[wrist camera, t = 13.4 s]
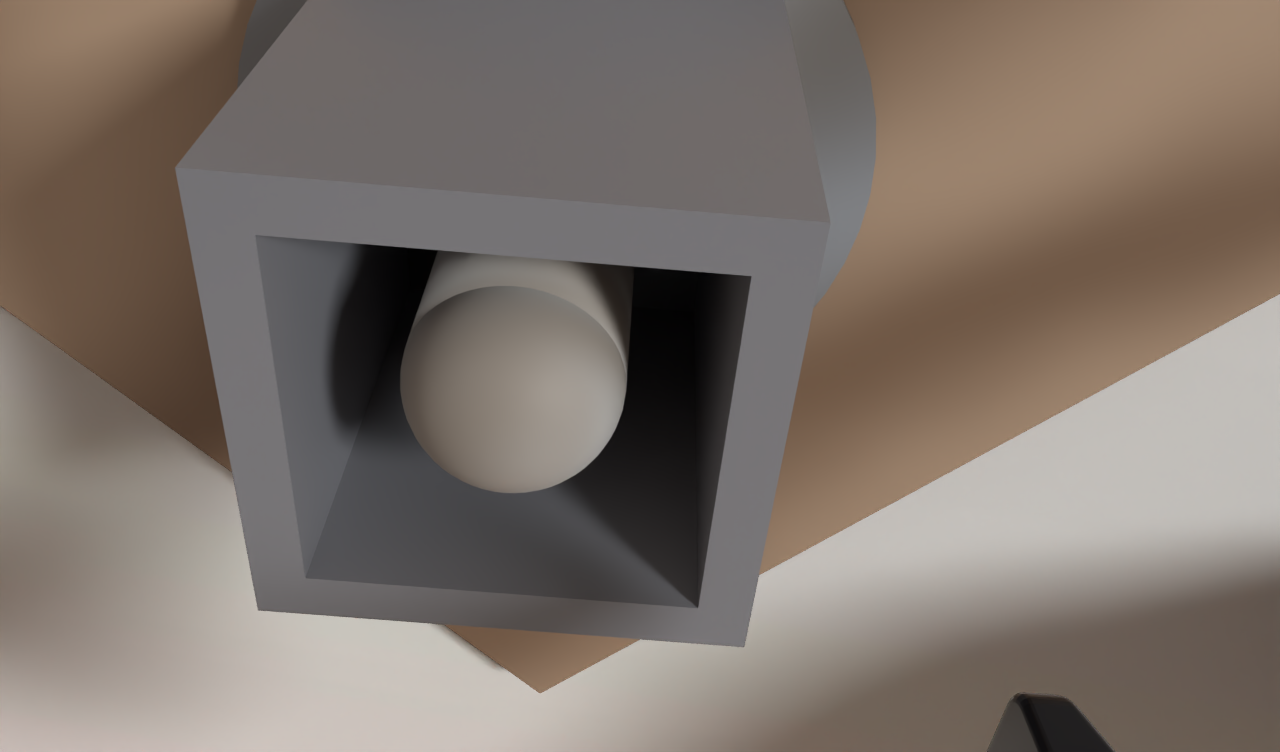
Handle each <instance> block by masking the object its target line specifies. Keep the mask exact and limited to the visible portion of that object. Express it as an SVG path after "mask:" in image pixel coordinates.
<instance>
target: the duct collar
mask: <svg viewBox="0 0 1280 752" xmlns="http://www.w3.org/2000/svg"><path fill="white" fill-rule="evenodd" d="M175 170H176V176H177V181H178V186H179V191H180V197H181V202H182V207H183V213H184V218H185V223H186V229H187V234H188V239H189V245H190V250H191V255H192V261H193V266H194V271H195V277H196V282H197V287H198V293H199V298H200V303H201V309H202V314H203V319H204V325H205V330H206V335H207V341H208V346H209V351H210V357H211V362H212V367H213V373H214V378H215V383H216V389H217V394H218V399H219V405H220V410H221V415H222V421H223V426H224V431H225V437H226V442H227V447H228V453H229V458H230V463H231V468H232V474H233V479H234V484H235V490H236V495H237V500H238V506H239V511H240V516H241V522H242V527H243V532H244V538H245V543H246V548H247V554H248V559H249V564H250V570H251V575H252V580H253V586H254V591H255V596H256V602H257V607H258V610H261V611H274V612H287V613H300V614H313V615H327V616H340V617H353V618H366V619H379V620H393V621H406V622H419V623H432V624H445V625H459V626H472V627H485V628H498V629H511V630H524V631H538V632H551V633H564V634H577V635H590V636H604V637H617V638H630V639H643V640H656V641H670V642H683V643H696V644H709V645H722V646H735V647H744V646H745V641H746V636H747V631H748V626H749V621H750V616H751V611H752V606H753V601H754V597H755V592H756V587H757V582H758V577H759V572H760V567H761V562H762V557H763V552H764V547H765V543H766V538H767V533H768V528H769V523H770V518H771V513H772V508H773V503H774V498H775V494H776V489H777V484H778V479H779V474H780V469H781V464H782V459H783V454H784V449H785V444H786V440H787V435H788V430H789V425H790V420H791V415H792V410H793V405H794V400H795V395H796V391H797V386H798V381H799V376H800V371H801V366H802V361H803V356H804V351H805V346H806V341H807V337H808V332H809V327H810V322H811V317H812V312H813V307H814V302H815V297H816V292H817V288H818V283H819V278H820V273H821V268H822V263H823V258H824V253H825V248H826V243H827V238H828V234H829V229H830V224H831V222H830V217H829V212H828V207H827V203H826V198H825V193H824V188H823V183H822V179H821V174H820V169H819V164H818V160H817V155H816V150H815V145H814V141H813V136H812V131H811V126H810V121H809V117H808V112H807V107H806V102H805V98H804V93H803V88H802V83H801V79H800V74H799V69H798V64H797V59H796V55H795V50H794V45H793V40H792V36H791V31H790V26H789V21H788V16H787V12H786V7H785V2H784V0H307V2H306V3H305V4H304V5H303V7H302V8H301V9H300V10H299V12H298V13H297V14H296V15H295V17H294V18H293V19H292V21H291V22H290V23H289V24H288V26H287V27H286V28H285V29H284V31H283V32H282V33H281V34H280V36H279V37H278V38H277V39H276V41H275V42H274V43H273V44H272V46H271V47H270V48H269V50H268V51H267V52H266V53H265V55H264V56H263V57H262V58H261V60H260V61H259V62H258V63H257V65H256V66H255V67H254V68H253V70H252V71H251V72H250V74H249V75H248V76H247V77H246V79H245V80H244V81H243V82H242V84H241V85H240V86H239V87H238V89H237V90H236V91H235V92H234V94H233V95H232V96H231V98H230V99H229V100H228V101H227V103H226V104H225V105H224V106H223V108H222V109H221V110H220V111H219V113H218V114H217V115H216V116H215V118H214V119H213V120H212V121H211V123H210V124H209V125H208V127H207V128H206V129H205V130H204V132H203V133H202V134H201V135H200V137H199V138H198V139H197V140H196V142H195V143H194V144H193V145H192V147H191V148H190V149H189V151H188V152H187V153H186V154H185V156H184V157H183V158H182V159H181V161H180V162H179V163H178V164H177V166H176V167H175ZM408 248H418V249H430V250H442V251H454V252H466V253H478V254H490V255H502V256H514V257H526V258H538V259H550V260H562V261H574V262H587V263H599V264H611V265H623V266H635V267H647V268H659V269H671V270H683V271H695V272H699V279H698V287H697V295H696V303H695V311H694V312H693V311H681V310H669V309H657V308H644V307H632V311H631V326H630V341H629V356H628V371H627V386H626V394H625V400H624V405H623V411H622V413H621V416H620V419H619V422H618V424H617V427H616V429H615V431H614V433H613V435H612V437H611V438H610V440H609V441H608V443H607V444H606V446H605V447H604V448H603V450H602V451H601V452H600V454H599V455H598V456H597V457H596V458H595V459H594V460H593V461H592V462H591V463H590V464H589V465H587V466H586V467H585V468H584V469H583V470H581V471H580V472H579V473H577V474H576V475H574V476H572V477H571V478H569V479H567V480H565V481H563V482H561V483H559V484H557V485H554V486H552V487H549V488H546V489H542V490H538V491H532V492H526V493H500V492H493V491H488V490H484V489H481V488H478V487H475V486H472V485H470V484H467V483H465V482H463V481H461V480H459V479H458V478H456V477H454V476H452V475H451V474H449V473H448V472H446V471H445V470H444V469H442V468H441V467H440V466H439V465H438V464H437V463H435V462H434V461H433V460H432V458H431V457H430V456H429V455H428V454H427V453H426V452H425V450H424V449H423V448H422V447H421V445H420V444H419V442H418V441H417V439H416V438H415V436H414V433H413V431H412V429H411V427H410V425H409V423H408V421H407V418H406V415H405V412H404V408H403V403H402V398H401V391H400V372H401V364H402V359H403V354H404V350H405V346H406V343H407V340H408V337H409V334H410V332H411V329H412V326H413V323H414V320H415V317H416V314H417V311H418V308H419V305H420V302H421V299H422V296H423V293H424V290H425V289H413V288H410V284H409V266H408Z"/></svg>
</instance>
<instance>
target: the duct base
mask: <svg viewBox="0 0 1280 752" xmlns="http://www.w3.org/2000/svg"><path fill="white" fill-rule="evenodd" d="M306 2H307V0H0V306H1V307H3V308H4V309H5V310H7V311H8V312H10V313H11V314H12V315H14V316H15V317H17V318H18V319H19V320H21V321H22V322H24V323H25V324H26V325H28V326H29V327H31V328H32V329H33V330H35V331H36V332H37V333H39V334H40V335H42V336H43V337H44V338H46V339H47V340H49V341H50V342H51V343H53V344H54V345H56V346H57V347H58V348H60V349H61V350H63V351H64V352H65V353H67V354H68V355H69V356H71V357H72V358H74V359H75V360H76V361H78V362H79V363H81V364H82V365H83V366H85V367H86V368H88V369H89V370H90V371H92V372H93V373H95V374H96V375H97V376H99V377H100V378H101V379H103V380H104V381H106V382H107V383H108V384H110V385H111V386H113V387H114V388H115V389H117V390H118V391H120V392H121V393H122V394H124V395H125V396H127V397H128V398H129V399H131V400H132V401H134V402H135V403H136V404H138V405H139V406H140V407H142V408H143V409H145V410H146V411H147V412H149V413H150V414H152V415H153V416H154V417H156V418H157V419H159V420H160V421H161V422H163V423H164V424H166V425H167V426H168V427H170V428H171V429H172V430H174V431H175V432H177V433H178V434H179V435H181V436H182V437H184V438H185V439H186V440H188V441H189V442H191V443H192V444H193V445H195V446H196V447H198V448H199V449H200V450H202V451H203V452H204V453H206V454H207V455H209V456H210V457H211V458H213V459H214V460H216V461H217V462H218V463H220V464H221V465H223V466H224V467H225V468H227V469H228V470H230V471H231V472H232V468H231V463H230V458H229V453H228V447H227V442H226V437H225V431H224V426H223V421H222V415H221V410H220V405H219V399H218V394H217V389H216V383H215V378H214V373H213V367H212V362H211V357H210V351H209V346H208V341H207V335H206V330H205V325H204V319H203V314H202V309H201V303H200V298H199V293H198V287H197V282H196V277H195V271H194V266H193V261H192V255H191V250H190V245H189V239H188V234H187V229H186V223H185V218H184V213H183V207H182V202H181V197H180V191H179V186H178V181H177V176H176V170H175V167H176V166H177V164H178V163H179V162H180V161H181V159H182V158H183V157H184V156H185V154H186V153H187V152H188V151H189V149H190V148H191V147H192V145H193V144H194V143H195V142H196V140H197V139H198V138H199V137H200V135H201V134H202V133H203V132H204V130H205V129H206V128H207V127H208V125H209V124H210V123H211V121H212V120H213V119H214V118H215V116H216V115H217V114H218V113H219V111H220V110H221V109H222V108H223V106H224V105H225V104H226V103H227V101H228V100H229V99H230V98H231V96H232V95H233V94H234V92H235V91H236V90H237V89H238V87H239V86H240V85H241V84H242V82H243V81H244V80H245V79H246V77H247V76H248V75H249V74H250V72H251V71H252V70H253V68H254V67H255V66H256V65H257V63H258V62H259V61H260V60H261V58H262V57H263V56H264V55H265V53H266V52H267V51H268V50H269V48H270V47H271V46H272V44H273V43H274V42H275V41H276V39H277V38H278V37H279V36H280V34H281V33H282V32H283V31H284V29H285V28H286V27H287V26H288V24H289V23H290V22H291V21H292V19H293V18H294V17H295V15H296V14H297V13H298V12H299V10H300V9H301V8H302V7H303V5H304V4H305V3H306ZM784 2H785V7H786V12H787V16H788V21H789V26H790V31H791V36H792V40H793V45H794V50H795V55H796V59H797V64H798V69H799V74H800V79H801V83H802V88H803V93H804V98H805V102H806V107H807V112H808V117H809V121H810V126H811V131H812V136H813V141H814V145H815V150H816V155H817V160H818V164H819V169H820V174H821V179H822V183H823V188H824V193H825V198H826V203H827V207H828V212H829V217H830V222H831V224H830V229H829V234H828V238H827V243H826V248H825V253H824V258H823V263H822V268H821V273H820V278H819V283H818V288H817V292H816V297H815V302H814V307H813V312H812V317H811V322H810V327H809V332H808V337H807V341H806V346H805V351H804V356H803V361H802V366H801V371H800V376H799V381H798V386H797V391H796V395H795V400H794V405H793V410H792V415H791V420H790V425H789V430H788V435H787V440H786V444H785V449H784V454H783V459H782V464H781V469H780V474H779V479H778V484H777V489H776V494H775V498H774V503H773V508H772V513H771V518H770V523H769V528H768V533H767V538H766V543H765V547H764V552H763V557H762V562H761V567H760V572H759V575H760V574H762V573H764V572H766V571H768V570H769V569H771V568H773V567H775V566H777V565H779V564H781V563H782V562H784V561H786V560H788V559H790V558H792V557H794V556H795V555H797V554H799V553H801V552H803V551H805V550H806V549H808V548H810V547H812V546H814V545H816V544H818V543H819V542H821V541H823V540H825V539H827V538H829V537H831V536H832V535H834V534H836V533H838V532H840V531H842V530H844V529H845V528H847V527H849V526H851V525H853V524H855V523H856V522H858V521H860V520H862V519H864V518H866V517H868V516H869V515H871V514H873V513H875V512H877V511H879V510H881V509H882V508H884V507H886V506H888V505H890V504H892V503H893V502H895V501H897V500H899V499H901V498H903V497H905V496H906V495H908V494H910V493H912V492H914V491H916V490H918V489H919V488H921V487H923V486H925V485H927V484H929V483H931V482H932V481H934V480H936V479H938V478H940V477H942V476H943V475H945V474H947V473H949V472H951V471H953V470H955V469H956V468H958V467H960V466H962V465H964V464H966V463H968V462H969V461H971V460H973V459H975V458H977V457H979V456H981V455H982V454H984V453H986V452H988V451H990V450H992V449H993V448H995V447H997V446H999V445H1001V444H1003V443H1005V442H1006V441H1008V440H1010V439H1012V438H1014V437H1016V436H1018V435H1019V434H1021V433H1023V432H1025V431H1027V430H1029V429H1030V428H1032V427H1034V426H1036V425H1038V424H1040V423H1042V422H1043V421H1045V420H1047V419H1049V418H1051V417H1053V416H1055V415H1056V414H1058V413H1060V412H1062V411H1064V410H1066V409H1068V408H1069V407H1071V406H1073V405H1075V404H1077V403H1079V402H1080V401H1082V400H1084V399H1086V398H1088V397H1090V396H1092V395H1093V394H1095V393H1097V392H1099V391H1101V390H1103V389H1105V388H1106V387H1108V386H1110V385H1112V384H1114V383H1116V382H1118V381H1119V380H1121V379H1123V378H1125V377H1127V376H1129V375H1130V374H1132V373H1134V372H1136V371H1138V370H1140V369H1142V368H1143V367H1145V366H1147V365H1149V364H1151V363H1153V362H1155V361H1156V360H1158V359H1160V358H1162V357H1164V356H1166V355H1167V354H1169V353H1171V352H1173V351H1175V350H1177V349H1179V348H1180V347H1182V346H1184V345H1186V344H1188V343H1190V342H1192V341H1193V340H1195V339H1197V338H1199V337H1201V336H1203V335H1205V334H1206V333H1208V332H1210V331H1212V330H1214V329H1216V328H1217V327H1219V326H1221V325H1223V324H1225V323H1227V322H1229V321H1230V320H1232V319H1234V318H1236V317H1238V316H1240V315H1242V314H1243V313H1245V312H1247V311H1249V310H1251V309H1253V308H1255V307H1256V306H1258V305H1260V304H1262V303H1264V302H1266V301H1267V300H1269V299H1271V298H1273V297H1275V296H1277V295H1279V294H1280V0H784ZM408 266H409V284H410V288H413V289H425V290H424V293H423V296H422V299H421V302H420V305H419V308H418V311H417V314H416V317H415V320H414V323H413V326H412V329H411V332H410V334H409V337H408V340H407V343H406V346H405V350H404V354H403V359H402V364H401V372H400V391H401V398H402V403H403V408H404V412H405V415H406V418H407V421H408V423H409V425H410V427H411V429H412V431H413V433H414V436H415V438H416V439H417V441H418V442H419V444H420V445H421V447H422V448H423V449H424V450H425V452H426V453H427V454H428V455H429V456H430V457H431V458H432V460H433V461H434V462H435V463H437V464H438V465H439V466H440V467H441V468H442V469H444V470H445V471H446V472H448V473H449V474H451V475H452V476H454V477H456V478H458V479H459V480H461V481H463V482H465V483H467V484H470V485H472V486H475V487H478V488H481V489H484V490H488V491H493V492H500V493H526V492H532V491H538V490H542V489H546V488H549V487H552V486H554V485H557V484H559V483H561V482H563V481H565V480H567V479H569V478H571V477H572V476H574V475H576V474H577V473H579V472H580V471H581V470H583V469H584V468H585V467H586V466H587V465H589V464H590V463H591V462H592V461H593V460H594V459H595V458H596V457H597V456H598V455H599V454H600V452H601V451H602V450H603V448H604V447H605V446H606V444H607V443H608V441H609V440H610V438H611V437H612V435H613V433H614V431H615V429H616V427H617V424H618V422H619V419H620V416H621V413H622V411H623V405H624V400H625V394H626V386H627V371H628V356H629V341H630V326H631V311H632V307H644V308H657V309H669V310H681V311H693V312H694V311H695V303H696V295H697V287H698V279H699V272H695V271H683V270H671V269H659V268H647V267H635V266H623V265H611V264H599V263H587V262H574V261H562V260H550V259H538V258H526V257H514V256H502V255H490V254H478V253H466V252H454V251H442V250H430V249H418V248H408ZM444 625H445V624H444ZM445 626H447V627H448V628H449V629H451V630H452V631H454V632H455V633H456V634H458V635H459V636H461V637H462V638H463V639H465V640H466V641H468V642H469V643H470V644H472V645H473V646H475V647H476V648H477V649H479V650H480V651H481V652H483V653H484V654H486V655H487V656H488V657H490V658H491V659H493V660H494V661H495V662H497V663H498V664H500V665H501V666H502V667H504V668H505V669H507V670H508V671H509V672H511V673H512V674H513V675H515V676H516V677H518V678H519V679H520V680H522V681H523V682H525V683H526V684H527V685H529V686H530V687H532V688H533V689H534V690H536V691H537V692H539V693H542V692H544V691H545V690H547V689H549V688H551V687H553V686H555V685H557V684H558V683H560V682H562V681H564V680H566V679H568V678H570V677H571V676H573V675H575V674H577V673H579V672H581V671H582V670H584V669H586V668H588V667H590V666H592V665H594V664H595V663H597V662H599V661H601V660H603V659H605V658H607V657H608V656H610V655H612V654H614V653H616V652H618V651H619V650H621V649H623V648H625V647H627V646H629V645H631V644H632V643H634V642H636V641H638V640H640V639H630V638H617V637H604V636H590V635H577V634H564V633H551V632H538V631H524V630H511V629H498V628H485V627H472V626H459V625H445Z"/></svg>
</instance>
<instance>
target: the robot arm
mask: <svg viewBox="0 0 1280 752" xmlns="http://www.w3.org/2000/svg"><path fill="white" fill-rule="evenodd" d="M987 752H1115V751H1114V750H1113V748H1112V747H1111V746H1110V745H1109V744H1108V743H1107V741H1106V740H1105V739H1104V738H1103V737H1102V735H1101V734H1100V733H1099V732H1098V731H1097V730H1096V728H1095V727H1094V726H1093V725H1092V724H1091V722H1090V721H1089V720H1088V719H1087V718H1086V717H1085V715H1084V714H1083V713H1082V712H1081V711H1080V709H1079V708H1078V707H1077V706H1076V705H1075V704H1074V703H1073V702H1071V701H1070V700H1069V699H1067V698H1065V697H1063V696H1059V695H1048V694H1035V693H1018V694H1016V695H1015V696H1013V697H1012V698H1011V699H1010V701H1009V703H1008V705H1007V707H1006V709H1005V711H1004V714H1003V716H1002V718H1001V720H1000V723H999V725H998V727H997V729H996V732H995V734H994V736H993V739H992V741H991V743H990V745H989V748H988V750H987Z"/></svg>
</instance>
